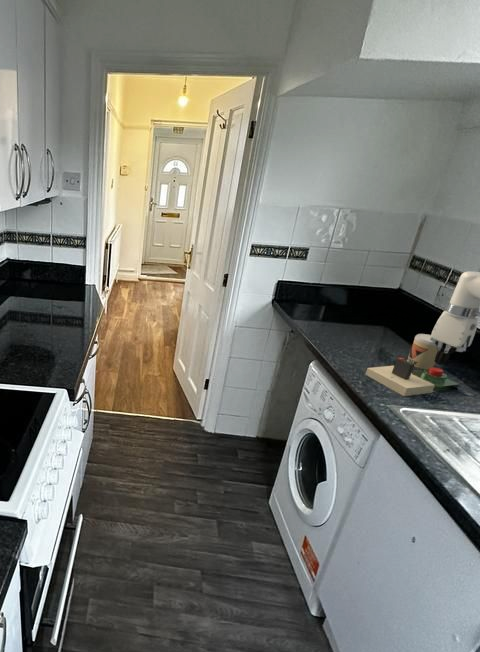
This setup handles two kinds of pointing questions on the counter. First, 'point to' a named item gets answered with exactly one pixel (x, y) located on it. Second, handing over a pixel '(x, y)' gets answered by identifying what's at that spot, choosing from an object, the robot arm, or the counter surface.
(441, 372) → the stop button
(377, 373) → the tan rectangular slab
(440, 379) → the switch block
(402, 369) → the dark brown upright block
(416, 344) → the coffee cup
